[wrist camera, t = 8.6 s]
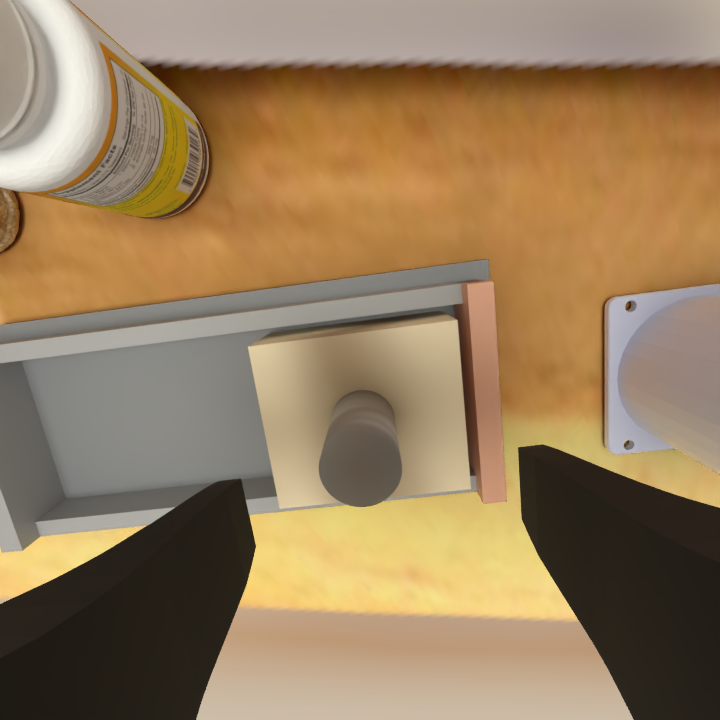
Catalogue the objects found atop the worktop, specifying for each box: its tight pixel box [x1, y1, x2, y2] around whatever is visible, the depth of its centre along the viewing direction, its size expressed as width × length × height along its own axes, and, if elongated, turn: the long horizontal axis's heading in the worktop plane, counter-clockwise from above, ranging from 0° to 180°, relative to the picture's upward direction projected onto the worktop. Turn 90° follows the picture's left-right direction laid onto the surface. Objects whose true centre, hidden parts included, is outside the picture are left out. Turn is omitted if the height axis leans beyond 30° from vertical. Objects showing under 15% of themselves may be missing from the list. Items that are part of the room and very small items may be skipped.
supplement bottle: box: [0, 0, 209, 219], centre depth 13 cm, size 6×6×10 cm
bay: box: [0, 259, 507, 553], centre depth 19 cm, size 24×11×4 cm, turn 98°
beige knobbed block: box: [248, 311, 471, 509], centre depth 16 cm, size 8×7×8 cm
